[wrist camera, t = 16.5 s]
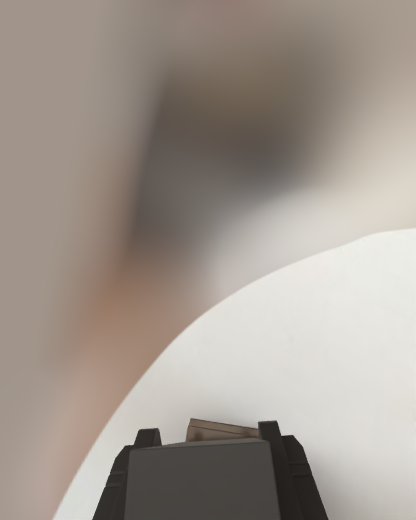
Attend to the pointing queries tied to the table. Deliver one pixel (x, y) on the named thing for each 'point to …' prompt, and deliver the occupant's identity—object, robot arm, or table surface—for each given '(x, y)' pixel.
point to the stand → (217, 431)
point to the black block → (202, 481)
